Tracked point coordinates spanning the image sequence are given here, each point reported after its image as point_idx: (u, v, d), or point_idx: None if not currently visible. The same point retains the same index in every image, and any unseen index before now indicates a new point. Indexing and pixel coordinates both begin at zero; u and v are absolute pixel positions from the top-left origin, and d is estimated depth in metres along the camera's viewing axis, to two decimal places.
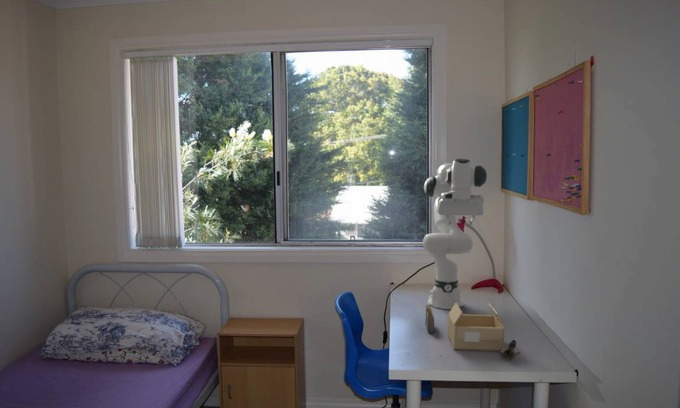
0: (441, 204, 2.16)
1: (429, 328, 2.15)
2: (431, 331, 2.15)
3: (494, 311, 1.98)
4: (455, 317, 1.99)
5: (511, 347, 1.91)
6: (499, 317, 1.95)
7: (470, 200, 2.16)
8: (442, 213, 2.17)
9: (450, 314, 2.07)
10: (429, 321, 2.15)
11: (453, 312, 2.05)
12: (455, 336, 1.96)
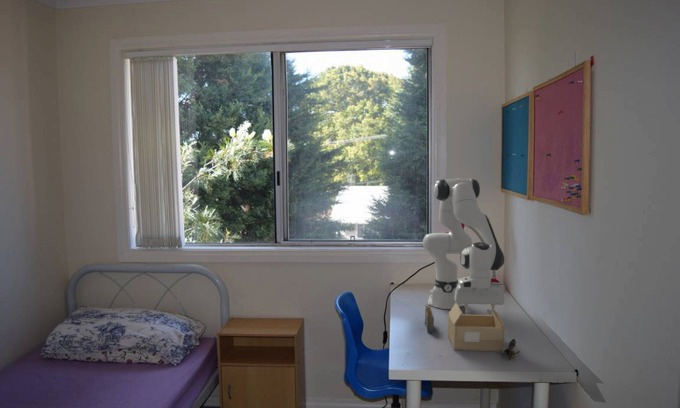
0: (458, 292, 1.99)
1: (429, 328, 2.16)
2: (431, 331, 2.16)
3: (494, 311, 1.98)
4: (455, 317, 1.99)
5: (511, 346, 1.91)
6: (499, 317, 1.95)
7: (490, 288, 1.99)
8: (460, 302, 2.00)
9: (450, 314, 2.07)
10: (429, 321, 2.15)
11: (453, 312, 2.05)
12: (455, 336, 1.96)
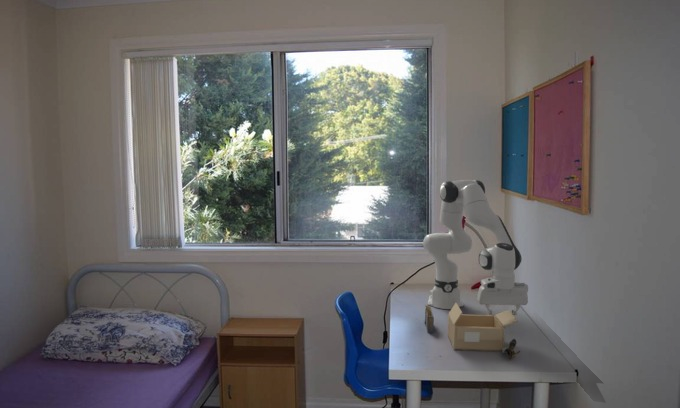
0: (482, 293, 1.99)
1: (429, 328, 2.16)
2: (431, 331, 2.16)
3: None
4: (455, 317, 1.99)
5: (511, 346, 1.92)
6: (513, 322, 1.95)
7: (514, 289, 1.99)
8: (483, 303, 2.00)
9: (450, 314, 2.07)
10: (429, 321, 2.15)
11: (453, 312, 2.05)
12: (455, 336, 1.96)
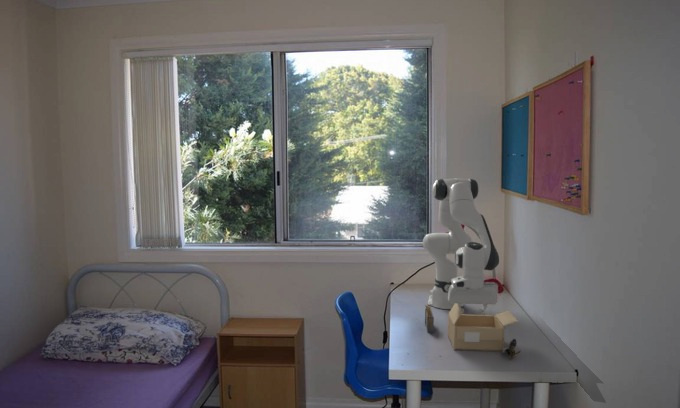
0: (452, 292, 1.99)
1: (429, 328, 2.16)
2: (431, 331, 2.16)
3: (515, 318, 1.98)
4: (455, 317, 1.99)
5: (511, 346, 1.92)
6: (513, 323, 1.95)
7: (483, 288, 1.99)
8: (453, 302, 2.00)
9: (450, 314, 2.07)
10: (429, 321, 2.16)
11: (452, 312, 2.05)
12: (455, 336, 1.96)
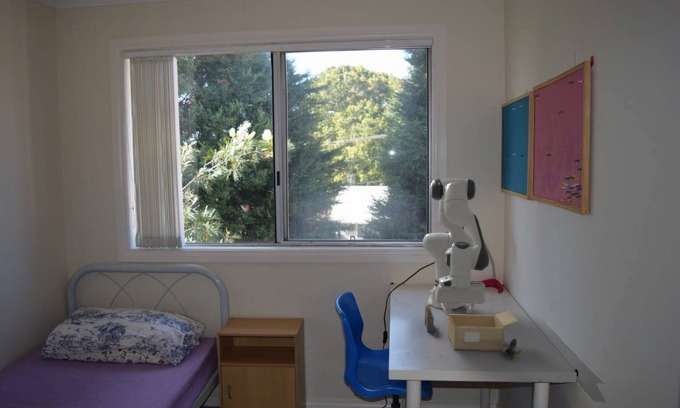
0: (439, 292, 1.99)
1: (429, 327, 2.16)
2: (431, 330, 2.16)
3: (515, 318, 1.98)
4: (449, 318, 1.99)
5: (512, 346, 1.92)
6: (513, 323, 1.95)
7: (470, 287, 1.99)
8: (440, 301, 2.00)
9: (448, 315, 2.07)
10: (429, 321, 2.16)
11: (447, 313, 2.05)
12: (455, 336, 1.96)
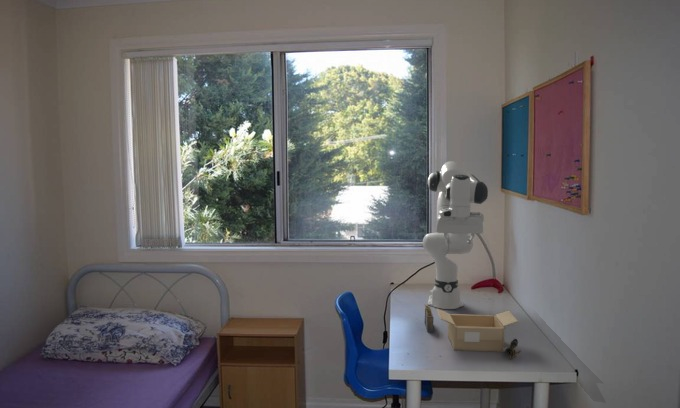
0: (439, 222, 2.08)
1: (428, 327, 2.16)
2: (430, 330, 2.16)
3: (515, 318, 1.98)
4: None
5: (512, 346, 1.92)
6: (513, 323, 1.95)
7: (469, 218, 2.07)
8: (440, 231, 2.09)
9: None
10: (428, 320, 2.16)
11: None
12: (455, 336, 1.96)
